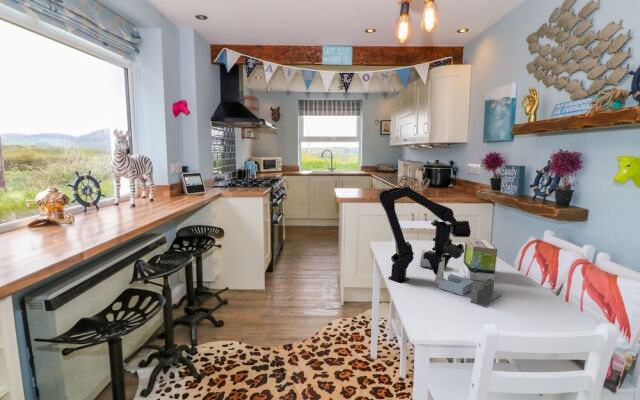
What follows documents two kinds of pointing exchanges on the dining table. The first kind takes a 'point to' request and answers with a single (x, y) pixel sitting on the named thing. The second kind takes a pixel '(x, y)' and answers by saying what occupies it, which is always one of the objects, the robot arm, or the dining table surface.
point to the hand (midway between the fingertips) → (439, 272)
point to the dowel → (440, 270)
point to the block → (456, 284)
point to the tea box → (479, 259)
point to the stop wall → (484, 293)
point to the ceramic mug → (424, 260)
